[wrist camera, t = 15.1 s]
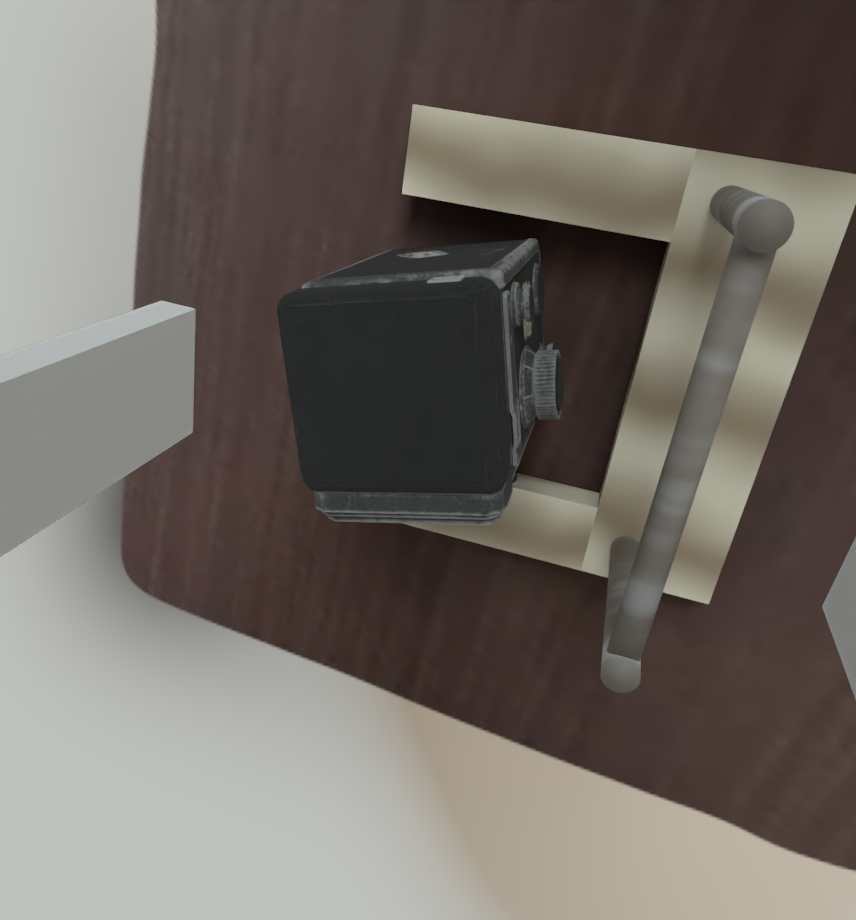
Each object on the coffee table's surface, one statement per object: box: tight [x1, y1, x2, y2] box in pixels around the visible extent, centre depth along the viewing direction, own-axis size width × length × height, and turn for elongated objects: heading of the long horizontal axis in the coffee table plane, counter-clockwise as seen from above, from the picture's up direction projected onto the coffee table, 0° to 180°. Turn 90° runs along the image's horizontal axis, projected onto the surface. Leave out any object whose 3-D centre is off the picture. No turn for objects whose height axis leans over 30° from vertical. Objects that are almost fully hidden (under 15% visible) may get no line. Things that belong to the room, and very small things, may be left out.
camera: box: [277, 238, 563, 526], centre depth 34 cm, size 10×10×15 cm
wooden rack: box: [402, 104, 856, 693], centre depth 34 cm, size 22×20×13 cm
